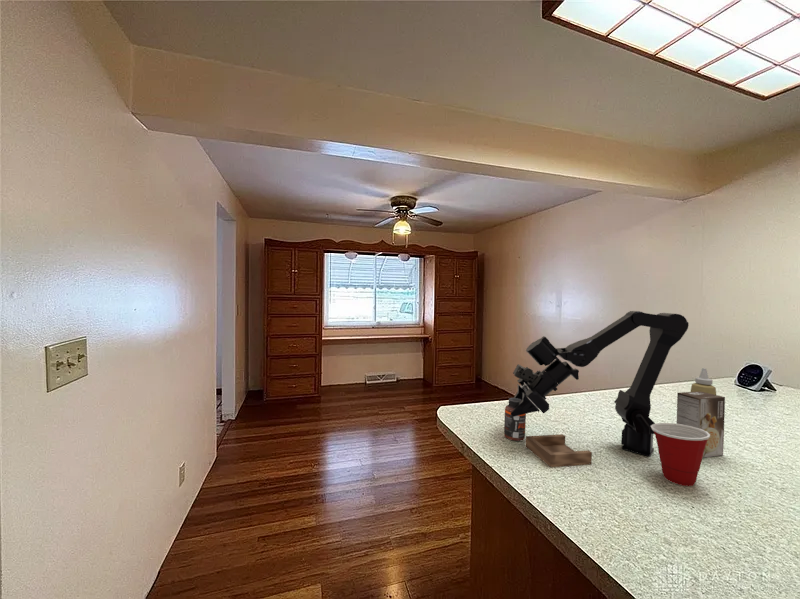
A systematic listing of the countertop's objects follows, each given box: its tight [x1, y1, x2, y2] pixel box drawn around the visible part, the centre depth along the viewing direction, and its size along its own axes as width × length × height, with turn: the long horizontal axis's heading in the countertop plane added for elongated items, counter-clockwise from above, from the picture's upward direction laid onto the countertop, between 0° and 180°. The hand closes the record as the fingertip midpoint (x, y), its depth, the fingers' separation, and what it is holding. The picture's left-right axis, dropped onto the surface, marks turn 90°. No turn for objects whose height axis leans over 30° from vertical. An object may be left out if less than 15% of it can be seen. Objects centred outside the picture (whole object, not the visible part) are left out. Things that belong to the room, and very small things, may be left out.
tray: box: [525, 433, 593, 468], centre depth 91 cm, size 11×11×3 cm
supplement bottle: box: [503, 397, 527, 442], centre depth 102 cm, size 6×6×11 cm
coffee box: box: [676, 391, 726, 459], centre depth 96 cm, size 9×6×16 cm
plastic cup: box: [651, 422, 710, 487], centre depth 81 cm, size 11×11×12 cm
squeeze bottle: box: [690, 367, 717, 395], centre depth 124 cm, size 8×8×18 cm
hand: (510, 411), depth 102 cm, fingers closed on supplement bottle, 6 cm apart
